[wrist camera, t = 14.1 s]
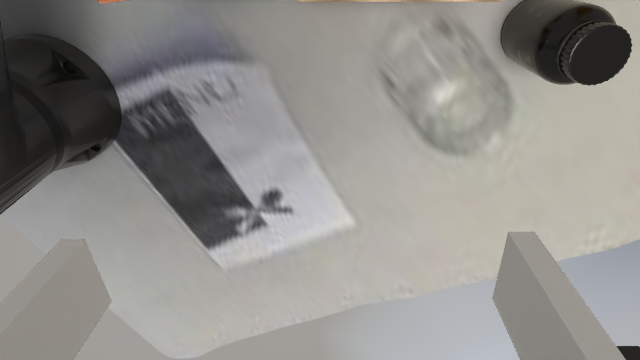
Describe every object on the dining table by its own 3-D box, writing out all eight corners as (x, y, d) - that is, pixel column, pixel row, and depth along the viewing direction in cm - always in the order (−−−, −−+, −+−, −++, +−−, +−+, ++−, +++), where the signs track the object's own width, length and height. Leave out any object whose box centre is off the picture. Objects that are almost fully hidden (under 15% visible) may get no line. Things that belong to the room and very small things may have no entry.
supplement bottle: (559, 60, 43) (631, 94, 33) (495, 65, 43) (547, 100, 33) (573, -9, 40) (660, 5, 29) (504, -3, 40) (565, 14, 30)
